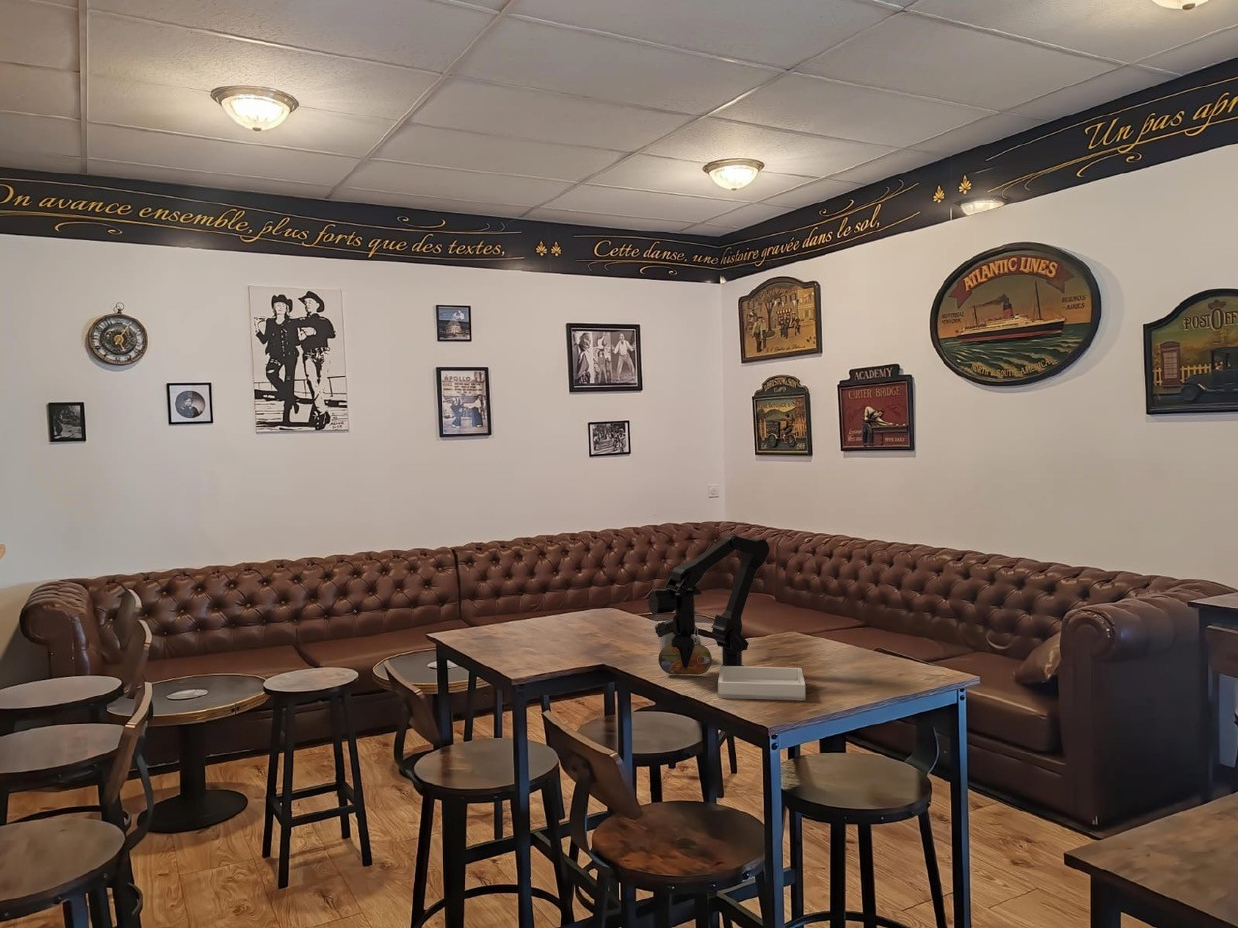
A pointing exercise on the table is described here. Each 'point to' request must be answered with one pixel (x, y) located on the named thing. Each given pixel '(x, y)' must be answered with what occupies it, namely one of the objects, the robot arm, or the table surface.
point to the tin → (673, 662)
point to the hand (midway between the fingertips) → (685, 665)
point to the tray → (761, 683)
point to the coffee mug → (667, 640)
